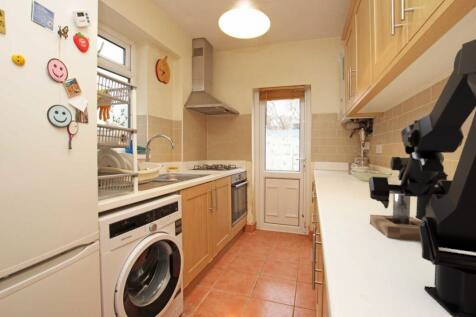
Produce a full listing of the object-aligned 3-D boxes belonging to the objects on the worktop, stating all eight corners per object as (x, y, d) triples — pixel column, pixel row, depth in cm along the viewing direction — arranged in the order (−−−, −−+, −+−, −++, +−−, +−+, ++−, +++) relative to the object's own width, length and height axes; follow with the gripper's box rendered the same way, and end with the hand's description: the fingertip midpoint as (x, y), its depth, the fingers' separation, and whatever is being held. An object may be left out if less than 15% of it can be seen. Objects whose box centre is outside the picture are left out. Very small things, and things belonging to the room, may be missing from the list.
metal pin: (409, 235, 64) (411, 192, 63) (392, 232, 66) (393, 190, 66) (408, 231, 67) (410, 190, 67) (392, 228, 69) (393, 189, 69)
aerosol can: (443, 218, 81) (446, 162, 80) (448, 224, 74) (451, 162, 73) (414, 214, 85) (416, 161, 85) (416, 220, 78) (418, 161, 78)
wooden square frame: (437, 241, 60) (438, 229, 60) (387, 237, 62) (387, 226, 62) (411, 226, 72) (411, 216, 71) (369, 223, 74) (370, 214, 74)
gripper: (462, 146, 53) (441, 187, 64) (370, 146, 61) (364, 183, 71) (481, 184, 46) (453, 223, 57) (374, 178, 54) (367, 214, 64)
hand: (405, 208), depth 62 cm, fingers open, 9 cm apart
